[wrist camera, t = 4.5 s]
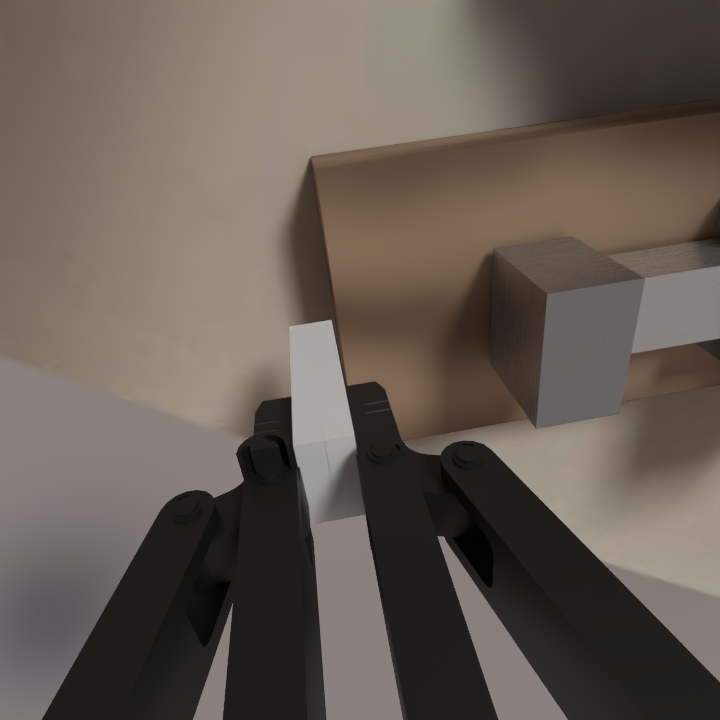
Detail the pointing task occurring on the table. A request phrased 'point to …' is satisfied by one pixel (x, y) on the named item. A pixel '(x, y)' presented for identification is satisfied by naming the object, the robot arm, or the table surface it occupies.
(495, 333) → the bolt
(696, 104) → the door leaf
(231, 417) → the table surface
